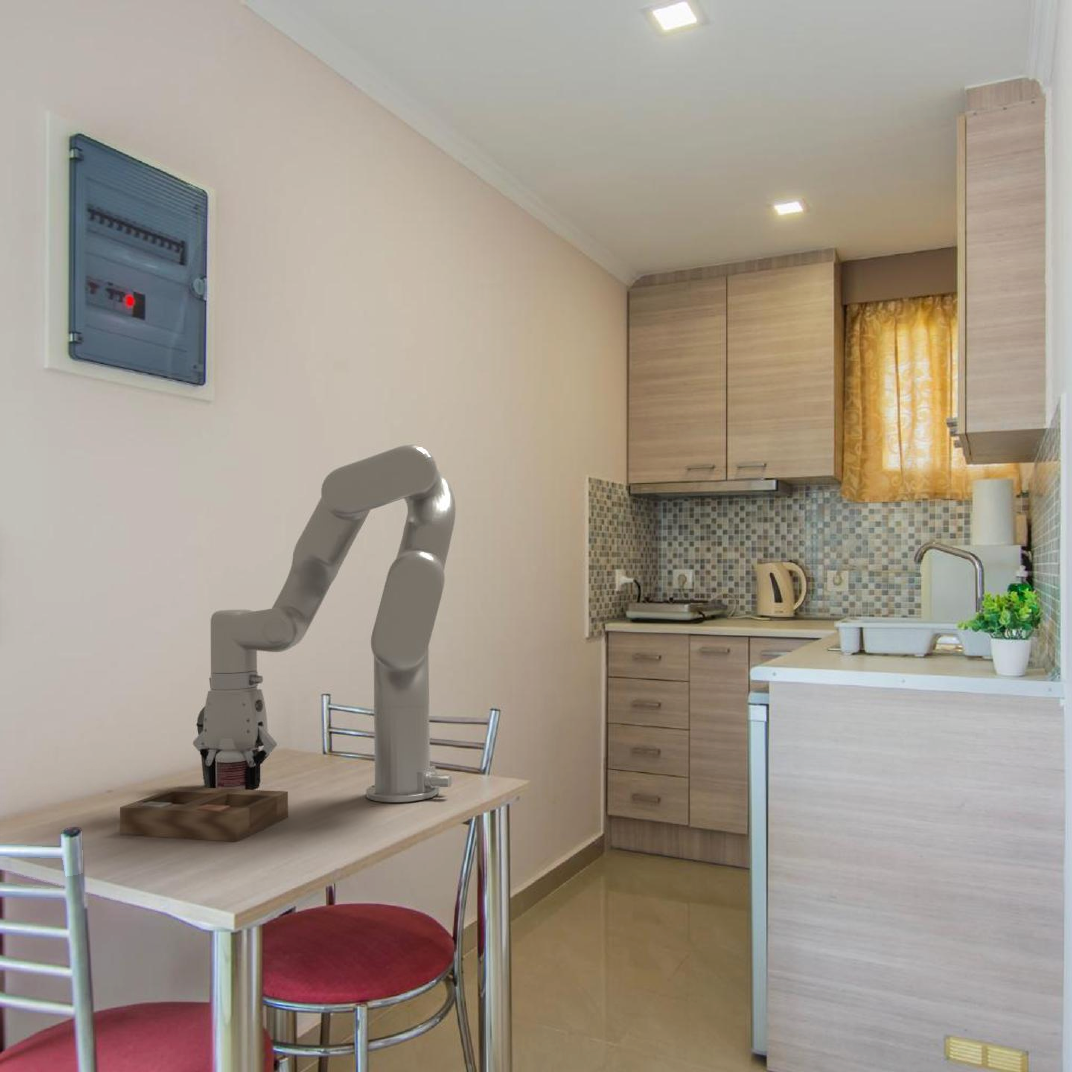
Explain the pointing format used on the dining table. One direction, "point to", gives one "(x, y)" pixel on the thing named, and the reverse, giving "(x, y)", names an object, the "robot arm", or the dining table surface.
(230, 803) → the socket board
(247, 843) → the dining table surface
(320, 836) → the dining table surface
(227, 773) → the pill bottle
